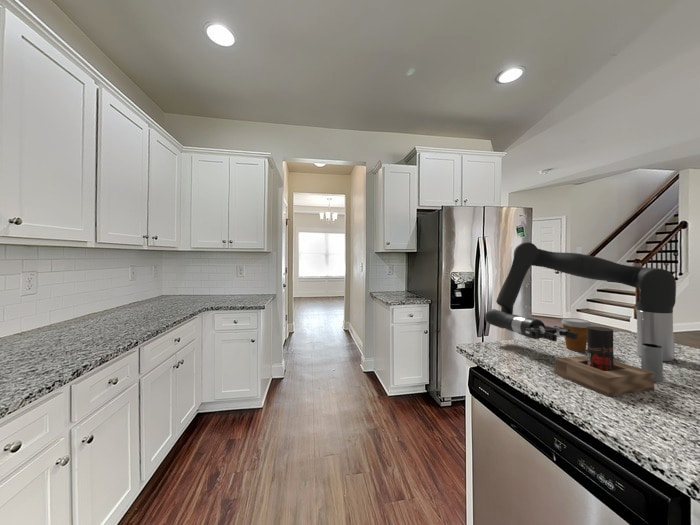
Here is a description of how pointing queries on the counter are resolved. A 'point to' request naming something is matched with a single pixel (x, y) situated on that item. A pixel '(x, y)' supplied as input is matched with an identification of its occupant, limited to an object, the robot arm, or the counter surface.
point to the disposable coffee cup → (579, 328)
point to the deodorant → (600, 348)
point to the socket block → (605, 376)
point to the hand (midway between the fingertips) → (566, 337)
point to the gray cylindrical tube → (652, 360)
